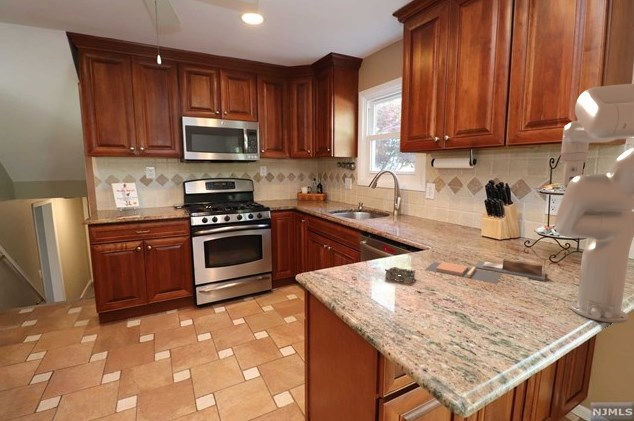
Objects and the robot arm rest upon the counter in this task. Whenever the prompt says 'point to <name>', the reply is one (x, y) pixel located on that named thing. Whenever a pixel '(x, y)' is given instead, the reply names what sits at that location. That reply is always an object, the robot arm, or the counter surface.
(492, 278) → the tile mat
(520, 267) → the turner
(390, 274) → the mottled grey block
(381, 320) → the counter surface
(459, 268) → the tile
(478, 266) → the slate board
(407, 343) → the counter surface
